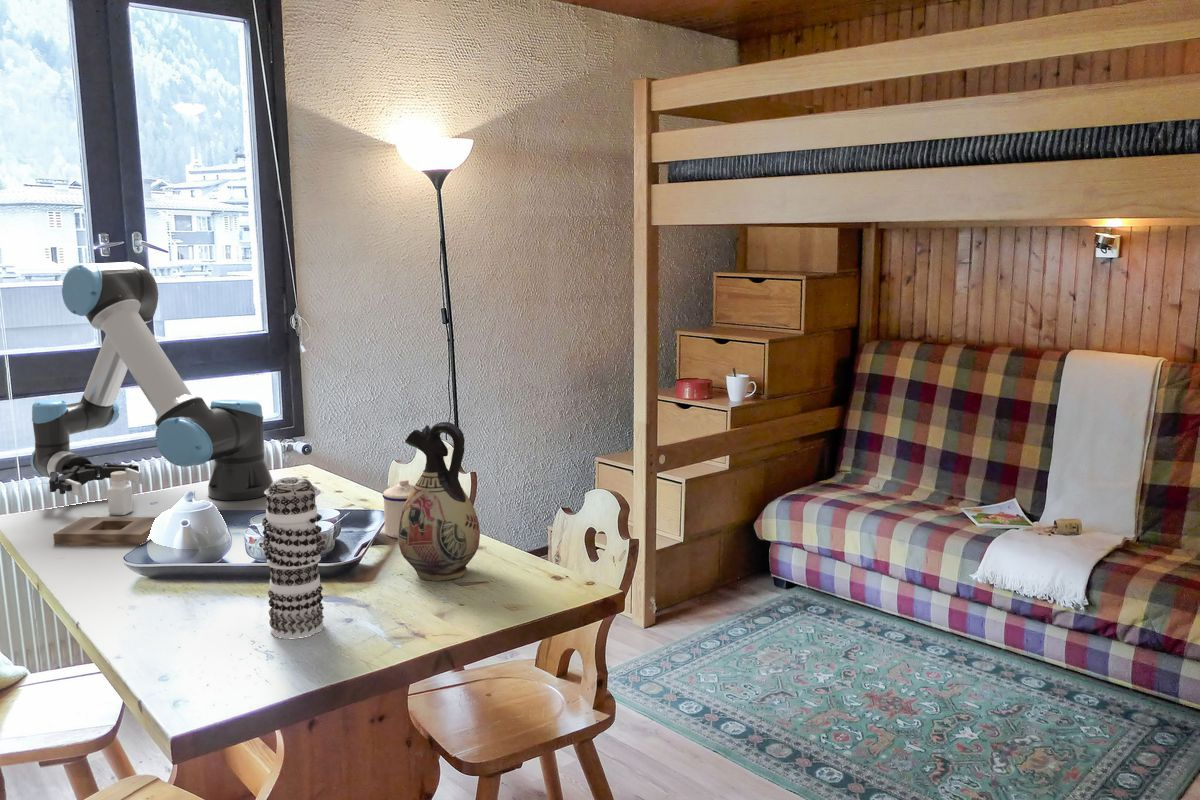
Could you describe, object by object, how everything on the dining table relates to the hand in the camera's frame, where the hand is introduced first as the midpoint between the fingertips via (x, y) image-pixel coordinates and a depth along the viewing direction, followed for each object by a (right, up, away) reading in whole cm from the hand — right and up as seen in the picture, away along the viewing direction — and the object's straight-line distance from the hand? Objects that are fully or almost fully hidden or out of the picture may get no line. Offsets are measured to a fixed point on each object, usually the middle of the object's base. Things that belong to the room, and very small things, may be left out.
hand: (111, 484), depth 226 cm
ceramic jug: (+82, -14, -38) cm, 92 cm away
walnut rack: (+9, -10, -17) cm, 22 cm away
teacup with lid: (+69, -9, -12) cm, 70 cm away
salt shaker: (+3, -7, -1) cm, 7 cm away
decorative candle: (+62, -19, -64) cm, 91 cm away
